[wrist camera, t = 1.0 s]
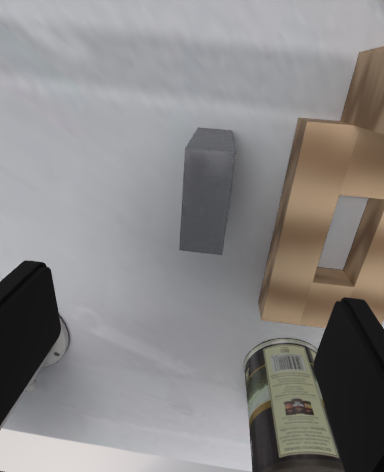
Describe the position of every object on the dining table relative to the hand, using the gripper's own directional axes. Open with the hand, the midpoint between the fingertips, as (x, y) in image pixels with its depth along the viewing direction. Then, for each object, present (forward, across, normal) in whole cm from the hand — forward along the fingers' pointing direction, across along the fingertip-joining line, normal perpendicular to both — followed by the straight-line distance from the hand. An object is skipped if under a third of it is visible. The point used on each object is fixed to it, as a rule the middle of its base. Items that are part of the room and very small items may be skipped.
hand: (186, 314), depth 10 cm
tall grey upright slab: (+20, 0, 0) cm, 21 cm away
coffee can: (+21, -12, +25) cm, 35 cm away
